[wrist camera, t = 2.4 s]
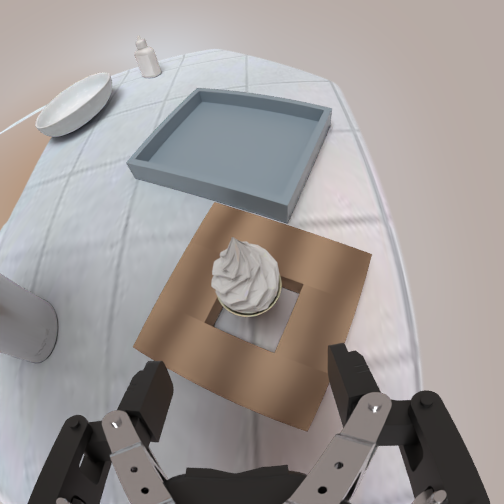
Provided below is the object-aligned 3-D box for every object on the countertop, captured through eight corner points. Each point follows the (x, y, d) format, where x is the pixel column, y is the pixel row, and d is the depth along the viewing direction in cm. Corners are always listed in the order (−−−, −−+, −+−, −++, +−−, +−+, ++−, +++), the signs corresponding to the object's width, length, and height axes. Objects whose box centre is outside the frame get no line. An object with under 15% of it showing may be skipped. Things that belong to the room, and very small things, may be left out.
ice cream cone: (261, 280, 30) (244, 187, 17) (292, 316, 28) (300, 244, 15) (223, 307, 29) (173, 233, 16) (251, 346, 27) (220, 301, 14)
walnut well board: (145, 351, 28) (132, 347, 25) (219, 216, 35) (214, 202, 32) (304, 427, 23) (307, 431, 20) (364, 266, 30) (371, 254, 27)
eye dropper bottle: (146, 81, 56) (131, 41, 45) (141, 75, 58) (127, 38, 48) (162, 74, 57) (149, 34, 46) (157, 68, 59) (144, 31, 48)
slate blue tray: (135, 178, 40) (126, 162, 37) (201, 102, 47) (197, 87, 44) (287, 223, 33) (287, 205, 30) (330, 125, 41) (332, 108, 38)
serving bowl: (123, 82, 58) (114, 62, 52) (115, 123, 49) (102, 97, 43) (58, 114, 58) (48, 97, 52) (39, 162, 48) (24, 142, 42)
